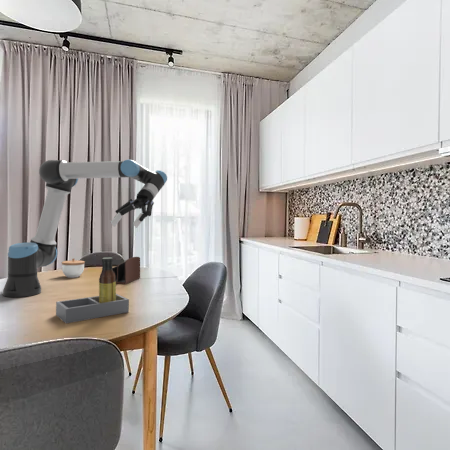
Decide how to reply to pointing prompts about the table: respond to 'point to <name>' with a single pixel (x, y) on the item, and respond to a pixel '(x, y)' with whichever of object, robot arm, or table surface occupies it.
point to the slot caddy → (90, 308)
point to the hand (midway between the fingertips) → (123, 225)
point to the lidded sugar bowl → (72, 268)
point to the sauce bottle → (107, 282)
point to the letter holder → (127, 271)
